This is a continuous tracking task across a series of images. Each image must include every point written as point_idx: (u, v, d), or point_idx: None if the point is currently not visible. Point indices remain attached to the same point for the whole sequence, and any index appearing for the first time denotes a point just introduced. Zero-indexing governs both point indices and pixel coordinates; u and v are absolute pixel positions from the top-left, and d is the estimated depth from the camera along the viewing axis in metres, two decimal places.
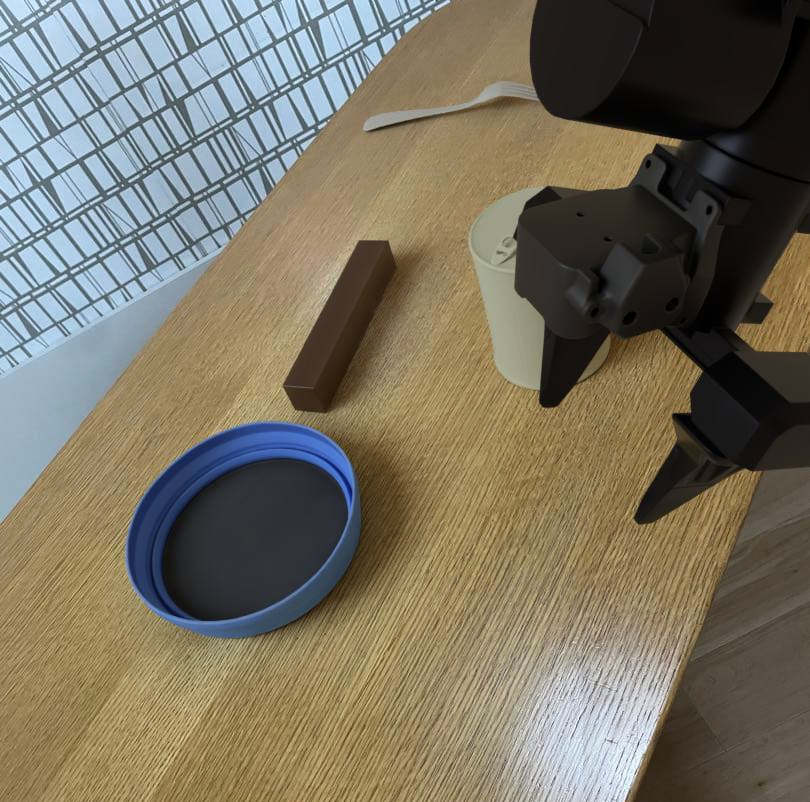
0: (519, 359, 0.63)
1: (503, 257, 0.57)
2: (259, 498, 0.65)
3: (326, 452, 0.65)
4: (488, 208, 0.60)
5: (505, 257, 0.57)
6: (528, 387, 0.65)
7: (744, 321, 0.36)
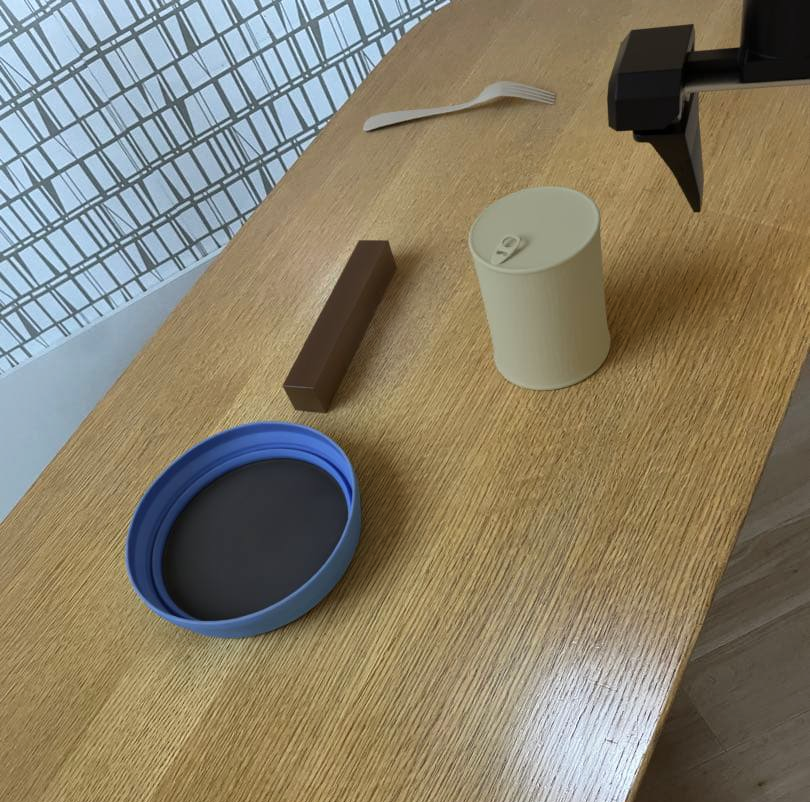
0: (519, 359, 0.63)
1: (503, 257, 0.57)
2: (259, 498, 0.65)
3: (326, 452, 0.65)
4: (488, 208, 0.60)
5: (505, 257, 0.57)
6: (528, 387, 0.65)
7: None
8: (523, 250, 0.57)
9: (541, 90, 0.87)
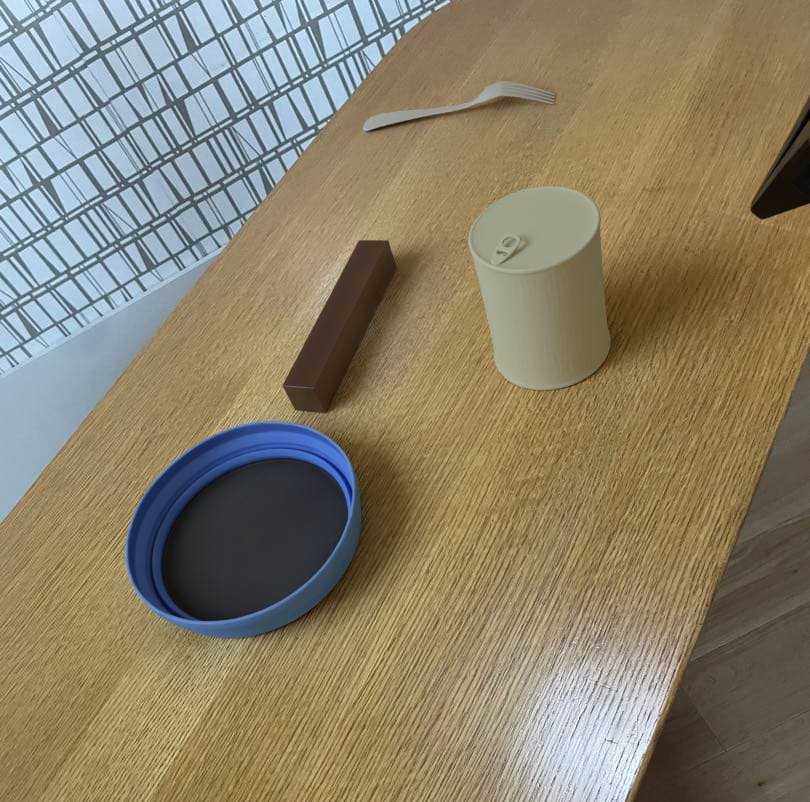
0: (519, 359, 0.63)
1: (503, 257, 0.57)
2: (259, 498, 0.65)
3: (326, 452, 0.65)
4: (488, 208, 0.60)
5: (505, 257, 0.57)
6: (528, 387, 0.65)
7: None
8: (523, 250, 0.57)
9: (541, 90, 0.87)
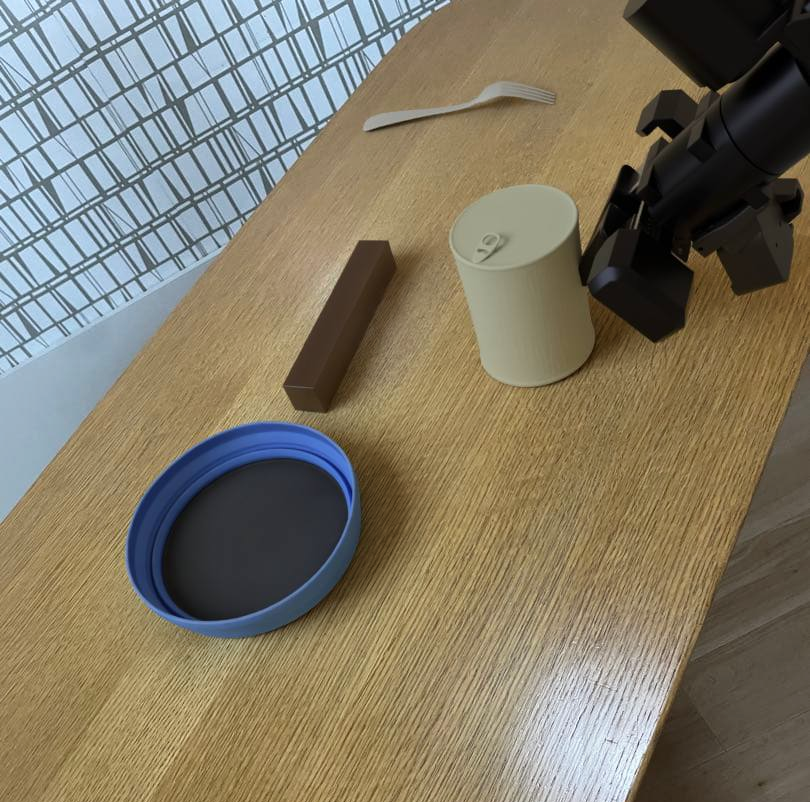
0: (505, 356, 0.64)
1: (484, 255, 0.57)
2: (259, 498, 0.65)
3: (326, 452, 0.65)
4: (467, 208, 0.61)
5: (486, 255, 0.57)
6: (515, 384, 0.65)
7: None
8: (504, 248, 0.57)
9: (541, 90, 0.87)
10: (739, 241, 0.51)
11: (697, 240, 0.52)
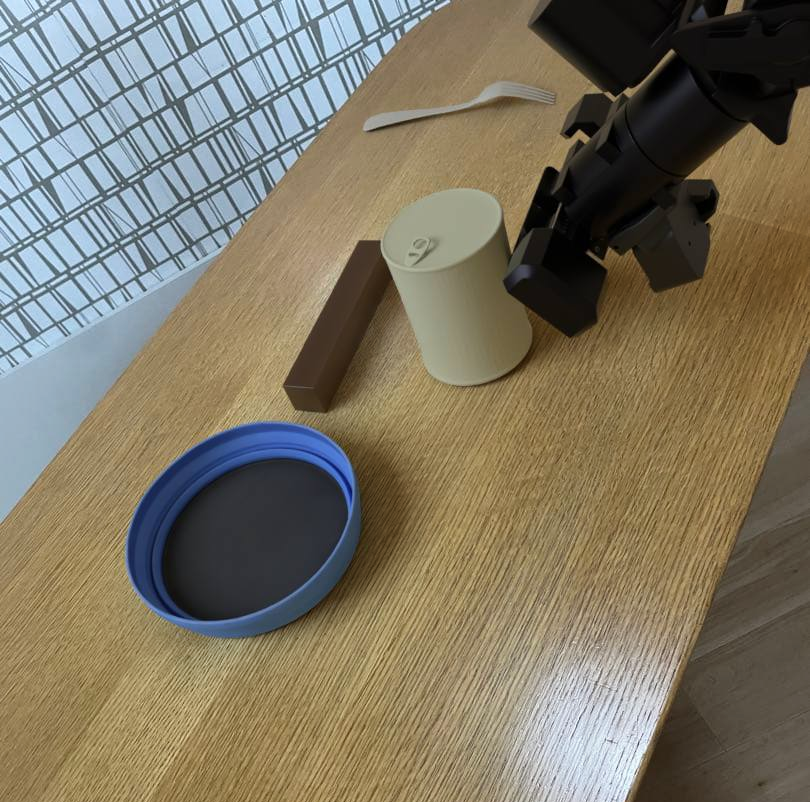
0: (446, 357, 0.65)
1: (416, 258, 0.59)
2: (259, 498, 0.65)
3: (326, 452, 0.65)
4: (396, 217, 0.63)
5: (418, 258, 0.59)
6: (460, 384, 0.67)
7: None
8: (434, 250, 0.59)
9: (541, 90, 0.87)
10: (652, 240, 0.53)
11: (612, 239, 0.54)
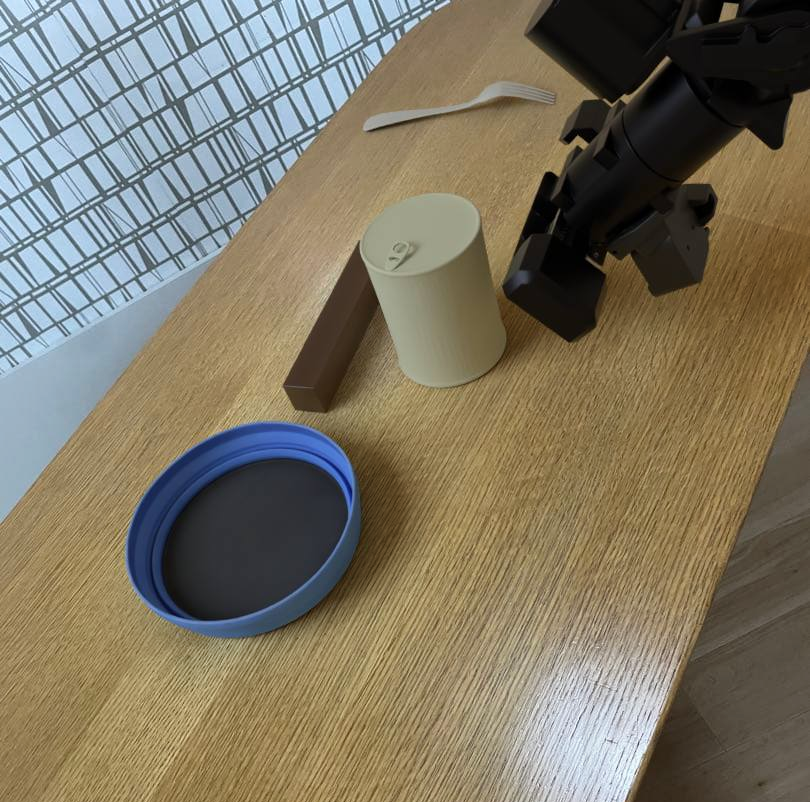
0: (424, 360, 0.66)
1: (396, 262, 0.59)
2: (259, 498, 0.65)
3: (326, 452, 0.65)
4: (374, 220, 0.63)
5: (398, 262, 0.59)
6: (436, 386, 0.68)
7: None
8: (414, 254, 0.60)
9: (541, 90, 0.87)
10: (650, 244, 0.53)
11: (611, 244, 0.54)
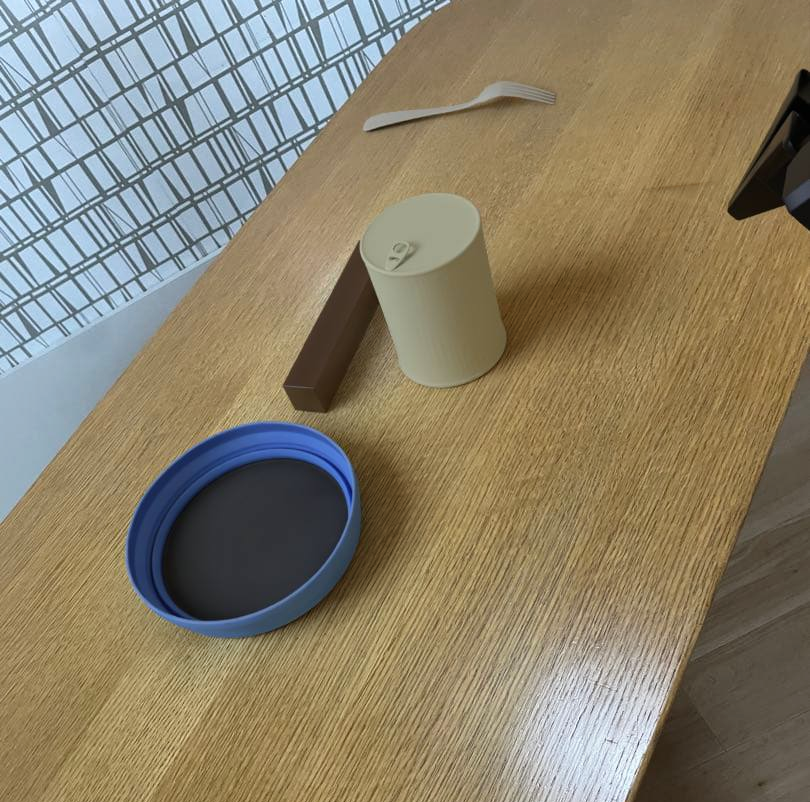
0: (424, 359, 0.66)
1: (396, 262, 0.59)
2: (259, 498, 0.65)
3: (326, 452, 0.65)
4: (374, 220, 0.63)
5: (398, 262, 0.59)
6: (436, 386, 0.68)
7: None
8: (414, 254, 0.60)
9: (541, 90, 0.87)
10: None
11: None
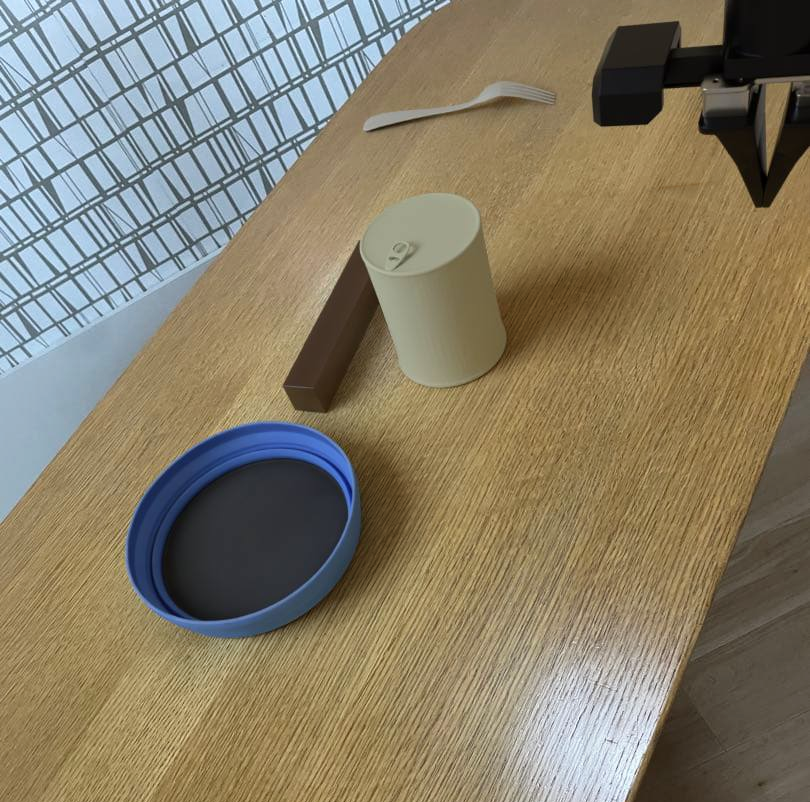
0: (424, 359, 0.66)
1: (396, 262, 0.59)
2: (259, 498, 0.65)
3: (326, 452, 0.65)
4: (374, 220, 0.63)
5: (398, 262, 0.59)
6: (436, 386, 0.68)
7: None
8: (414, 254, 0.60)
9: (541, 90, 0.87)
10: None
11: None
